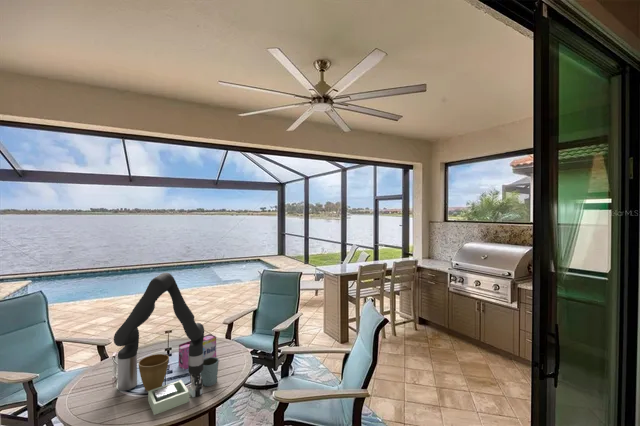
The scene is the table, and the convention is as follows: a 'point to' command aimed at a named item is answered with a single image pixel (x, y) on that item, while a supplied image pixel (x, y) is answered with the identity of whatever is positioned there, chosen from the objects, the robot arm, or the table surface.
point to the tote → (169, 402)
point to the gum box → (208, 350)
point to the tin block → (165, 393)
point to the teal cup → (209, 371)
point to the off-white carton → (193, 390)
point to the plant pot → (153, 370)
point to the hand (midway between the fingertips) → (195, 393)
